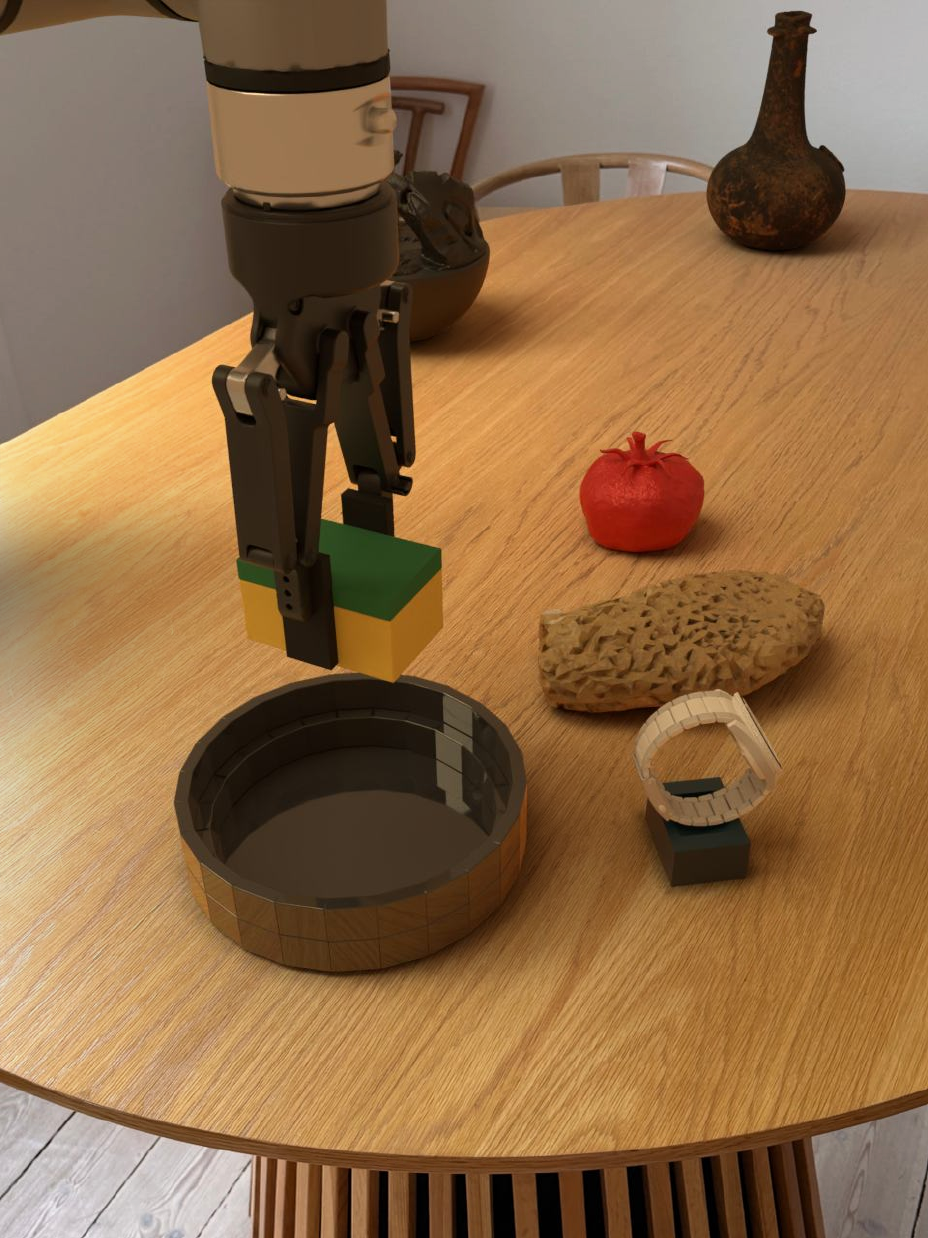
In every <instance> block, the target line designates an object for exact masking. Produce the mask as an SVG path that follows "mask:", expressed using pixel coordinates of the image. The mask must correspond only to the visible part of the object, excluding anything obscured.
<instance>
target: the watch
mask: <svg viewBox="0 0 928 1238" xmlns="http://www.w3.org/2000/svg"><path fill="white" fill-rule="evenodd" d="M672 703H673V704H672ZM673 705H674V706H673ZM686 705H687V706H686ZM716 722H717V723H724V725H725V727H726V730H727V731H728V733H729V735H730V736H731V738H732V740H733V742H734V743H735V745H736V747H737V749H738V751H739V753H740V755H741V756H742V758H743V759H744V761H745V763H746V764H747V766H748V768H746V769H745V770H744V771H743V773H741V775H740V776H739V778H737V779H735V780H734V781H732V782H731V783H730V784H728V785H727V787H726V786H725V784H724V782H723V780H722V778H721V776H715V777H706V778H705V777H704V778H696V779H685V780H677V781H667V782H661V781H660V780H659V778H658V777H657V776H656V775H655V773H654V765H653V763H652V759H653V758H654V757H655V755H656V754H657V752H658V751H659V748H660V747H662V746H664V745H665V744H666V743H667V742H668V741H670V738H674V737H676V736H677V735H679V734H681V733H683V732H684V730H689V729H692V728H696V727H698V726H700V725H706V724H715V723H716ZM631 757H632V760H633V763H634V766H635V769H636V771H637V775H638V777H639V779H640V781H641V784H642V787H643V790H644V792H645V794H646V809H645V815H644V817H645V818H644V819H645V823H646V825H647V827H648V831H649V834H650V836H651V838H652V841H653V843H654V846H655V849H656V851H657V854H658V857H659V859H660V862H661V865H662V867H663V870H664V873H665V876H666V879H667V880H668V883H669V887H670V888H675V887H685V886H692V885H700V884H701V885H702V884H710V883H718V882H725V881H726V882H727V881H735V880H736V881H737V880H743V879H746V876H747V870H748V864H749V859H750V854H751V853H750V852H751V846H752V842H751V840H750V838H749V836H748V833H747V831H746V829H745V827H744V825H743V822H742V821H741V818H740V816H744V815H746V814H747V813H749V812H751V811H752V810H753V809H754V808H755V807H757V806H758V805H760V803H762V801H764V800H765V798H766V797H767V795H768V794H770V792H771V791H772V790H775V789H776V788H777V787H776V786H777V775H776V774H781V773H783V772H784V771H783V767H782V765H781V761H780V759H779V758H778V755H777V753H776V751H775V750H774V748H773V746H772V744H771V742H770V740H769V739H768V737H767V735H766V734H765V732H764V730H763V728H762V726H761V725H760V722H759V721H758V719H757V718H756V716H755V715H754V713H753V711H752V709H751V707H750V706H749V704H748V703H747V701H746V700H745V698H744V697H743V696H741V695H740V694H739V693H738V692H737V693H735V694H734V696H733V697H732V696H731V695H729V694H728V693H726V692H725V691H722V690H720V689H716V690H714V691H705V692H695V693H691V694H688V696H687V695H684V696H681V697H678V698H676V699H674V700H672V702H668V703H666V704H665V705H663V706H661V707H659V708H658V709H657V710H655V712H653V713H652V714H651V715H650V716H649V717H648V718H647V719H646V721H645V722H644V723H643V724H642V726H641V728H640V729H639V731H638V733H637V735H636V737H635V740H634V747H633V753H632V754H631Z"/></svg>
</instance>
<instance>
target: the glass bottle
mask: <svg viewBox="0 0 928 1238" xmlns="http://www.w3.org/2000/svg"><path fill="white" fill-rule="evenodd" d="M812 17H813V13H810V12H808V11H804V10H789V11H780V12H777V13H775V14H774V25H773V26H770V27H768V28H767V29H766V33H767V34H768V35H769V36H771V37H772V42H771V48H770V49H771V50H770V54H769V59H768V67H767V72H766V77H765V83H764V87H763V93H762V97H761V102H760V107H759V111H758V114H757V118H756V121H755V125H754V128H753V130H752V133H751V136H750V137H749V139H748V140H747V141H746V142H745V143H744V144H742V145H740V146H738V147H736V148H733V149H732V150H730V151H728V152H727V153H726V154H725V155H724V156H722V158H720V159H719V161H718V162H717V163H716V164H715V166H714V168H713V169H712V171H711V172H710V175H709V178H708V180H707V184H706V192H705V193H706V195H705V196H706V203H707V207H708V211H709V213H710V216H711V218H712V219H713V221H714V223H715V224H716V226H717V228H719V230H720V231H721V232H722V233H723V234H724V235H725V236H726V237H728V238H729V239H731V241H734V242H736V243H737V244H740V245H743V246H746V247H749V248H754V249H759V250H769V251H770V250H771V251H782V250H791V249H797V248H800V247H804V246H806V245H808V244H811V243H813V242H814V241H816V240H817V239H819V238H821V237H822V236H823V235H824V234H826V233H827V231H829V229H830V228H831V227H832V226H833V225H834V224H835V222H836V221H837V220H838V218H839V217H840V215H841V213H842V211H843V208H844V204H845V200H846V194H847V193H846V190H847V189H846V179H845V176H844V172H845V169H846V168H845V167H844V165H843V163H842V162H841V161H840V160H839V158H838V157H837V156H836V155H835V154H834V152H832V151H831V150H830V149H829V148H828V147H827V146H826V145H824V144H821V145H820V146H819V147H816V146H813V145H812V143H811V142H810V140H809V137H808V132H807V124H806V123H807V122H806V77H807V75H806V74H807V61H808V50H809V49H808V45H809V36H810V35H814V34H816V33H817V32H818V30H817V29H816V28H815V27H812V26H811V22H812V19H813V18H812Z"/></svg>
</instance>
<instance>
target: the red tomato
mask: <svg viewBox="0 0 928 1238" xmlns="http://www.w3.org/2000/svg"><path fill="white" fill-rule="evenodd" d="M646 438H647V434H646V433H643V432H640V431H632V433H631V437H626V442H627V443H628V446H629V449H628V450H622V449H620V448H618V447H613V448H608V449H599V452H600V453H601V454H603V455H601V456H599V457H598V458H597V459H595V460H594V462H593V463H592V464H591V465H590V466H589V467H588V469H587V470H586V471H585V474H584V476H583V478H582V480H581V483H580V486H579V492H578V493H579V505H580V508H581V512H582V515H583V517H584V518H585V522H586V525H587V530H588V533H589V535H590V536H591V537H592V538H593V540H594V541H595V542H596V544H598V545H600V546H601V547H603V548H605V549H608V550H612V551H621V552H631V553H644V552H653V551H655V552H657V551H658V552H659V551H664V550H668V549H670V548H673V547H675V546H677V545H679V544H680V543H681V542H682V541H683V540H685V538H686V537H687V536H688V535H689V533H690V531H692V529H693V528H694V526H695V524H696V523H697V520H698V519H699V517H700V515H701V512H702V509H703V505H704V501H705V480H704V477H703V475H702V473H701V472H700V471H699V470H697V469H696V468H695V466H694V465H693V464H692V463H691V462H690V461H689V460H690V458H688V457H685V456H683V455H682V454H680V453H676V452H662V451H658V450H659V449H660V447H661V446H662V445H663V444H666V443H668V442H673V439H663V440H660V441H658V442H656V443H655V444H653V445H651V446H650V447H649V448H648V449H646Z"/></svg>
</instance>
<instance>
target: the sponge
mask: <svg viewBox="0 0 928 1238" xmlns="http://www.w3.org/2000/svg"><path fill="white" fill-rule="evenodd" d="M659 584H660V585H658V586H657V585H656V584H655V583H650V584H649V583H648V584H646V585H644V586H642V587H640V588H638V589H636V591H634V592H632V593H631V594H629V595H627V596H622V597H621V596H620V597H616V598H612V599H608V600H607V599H601V600H598V601H595V602H591V603H587V604H584V605H582V606H580V607H578V608H576V609H573V610H571V611H565V612H564V611H562V610H560V609H558V608H551V609H548V610H545V611H542V612H540V613H539V622H538V638H539V644H538V651H539V655H538V669H539V676H538V680H539V686H540V687H541V688H542V691H543V694H544V699H545V701H546V702H547V704H548V705H549V706H550V707H553V708H555V709H558V708H559V707H562V708H563V709H565V710H569V711H570V710H571V711H578V712H587V713H590V714H592V713H593V714H595V713H603V712H604V713H606V712H622V711H628V710H632V709H633V710H634V709H639V708H654V707H655V708H657V707H659V708H661V707H662V706H663V705H665V704H666V703H668V702H672V700H674V699H676V698H678V697H681V696H684V695H687V696H688V694H691V693H695V692H705V691H714V690H716V689H720V690H722V691H725V692H726V693H728V694H729V695H731V696H732V697H733V696H734V694H735V693H737V692H738V693H739V694H740V695H741V696H742V697H744V696H747V695H749V694H751V693H752V692H754V691H757V690H759V689H760V688H761V687H763V686H765V685H767V684H769V683H770V682H773V681H774V680H776V679H777V678H778V677H779V676H781V675H786V674H787V671H788V669H790V668H793V667H795V666H796V665H798V664H799V663H800V662H801V661H802V660H803V659H804V658H806V657H807V656H809V653H810V652H811V649H812V648H813V646H814V645H816V643H817V640H818V639H819V638H820V636H821V633H822V628H823V627H824V626H823V621H824V617H825V608H826V605H825V603H824V601H823V598H822V596H821V595H820V594H818V593H816V592H813V591H810V590H808V589H806V588H804V587H802V586H800V585H799V584H795V582H792V581H789V578H788V577H786V576H783V575H781V574H778V573H775V572H773V574H772V573H771V574H770V573H769V572H768V571H757V572H755V571H748V570H743V569H734V570H733V569H732V570H724V571H723V570H722V571H720V570H719V571H712V572H701V573H693V574H691V573H690V574H687V575H684V576H681V577H675V578H672V579H668V580H667V579H664V580H662V581H659ZM672 704H673V703H672ZM673 706H674V705H673ZM686 706H687V705H686Z"/></svg>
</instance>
